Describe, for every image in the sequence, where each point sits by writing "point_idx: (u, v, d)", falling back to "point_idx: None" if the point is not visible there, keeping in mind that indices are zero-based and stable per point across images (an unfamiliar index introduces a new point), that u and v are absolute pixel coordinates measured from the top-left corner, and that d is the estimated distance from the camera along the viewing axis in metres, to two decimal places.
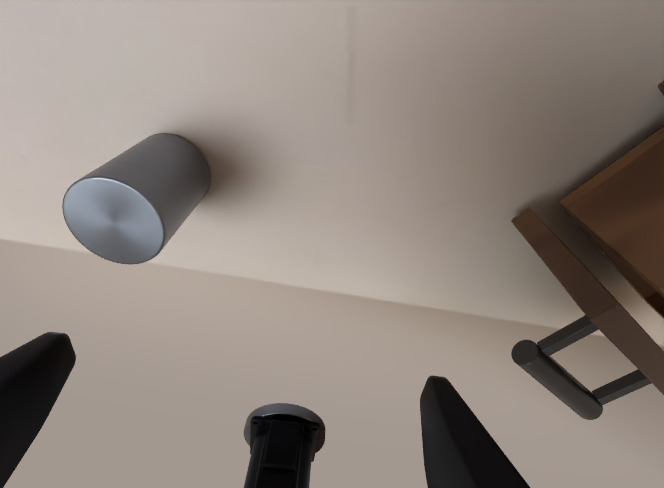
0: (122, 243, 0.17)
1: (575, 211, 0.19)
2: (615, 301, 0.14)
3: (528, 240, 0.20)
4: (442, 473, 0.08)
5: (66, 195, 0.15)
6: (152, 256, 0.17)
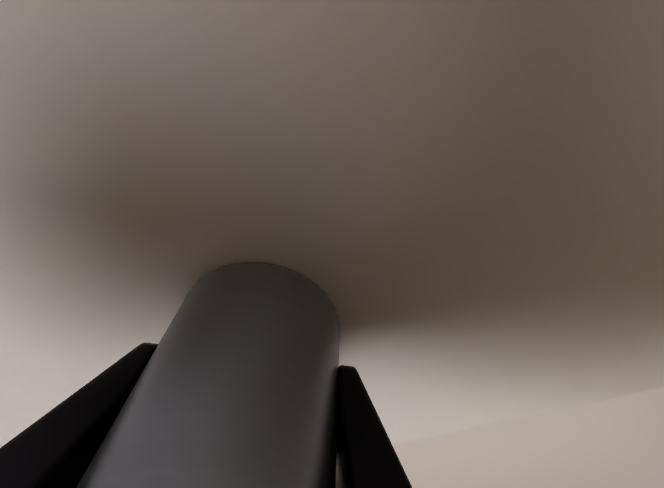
0: None
1: None
2: None
3: None
4: (336, 462, 0.08)
5: None
6: None
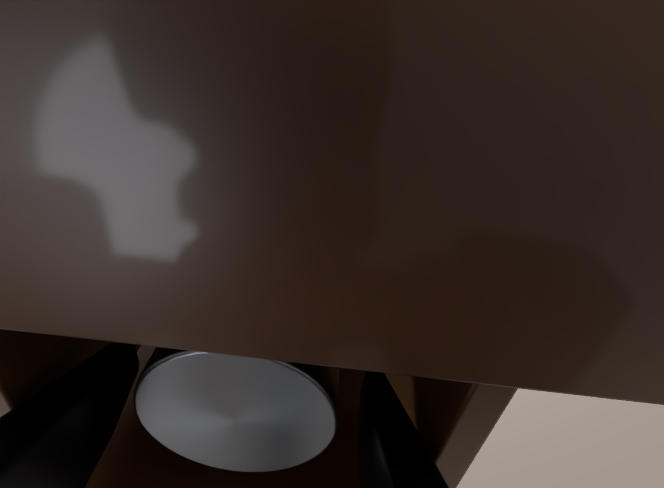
0: (267, 441, 0.08)
1: None
2: None
3: None
4: (368, 465, 0.08)
5: (138, 412, 0.08)
6: (328, 441, 0.08)
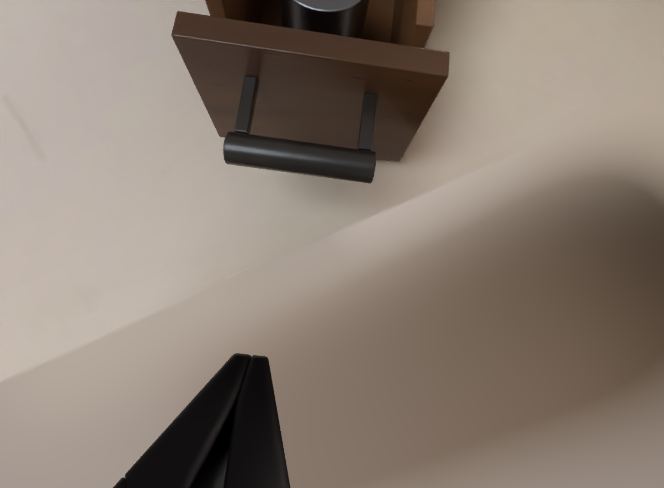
0: None
1: None
2: None
3: (209, 114, 0.21)
4: None
5: None
6: None
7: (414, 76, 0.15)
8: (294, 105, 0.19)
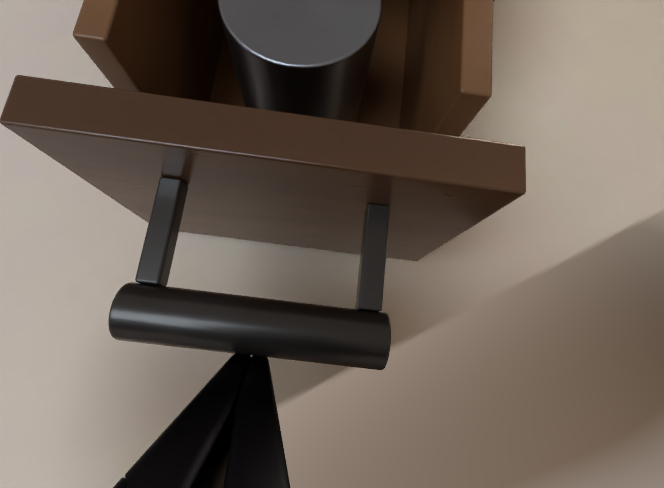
0: (323, 21, 0.10)
1: None
2: None
3: (130, 209, 0.13)
4: None
5: None
6: (376, 20, 0.10)
7: (461, 191, 0.08)
8: (254, 209, 0.11)
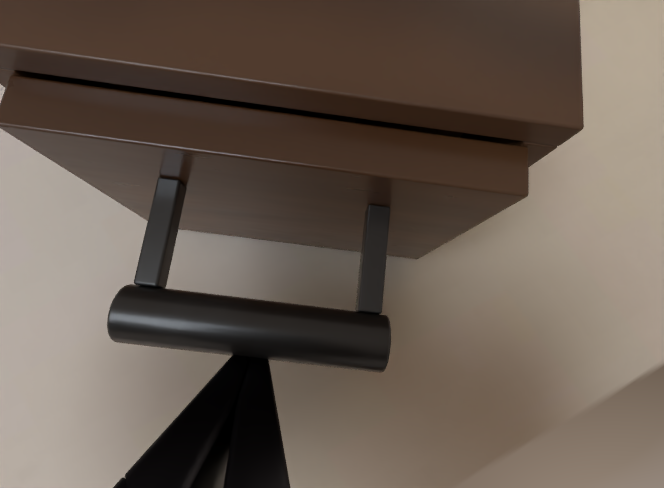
0: None
1: None
2: (13, 80, 0.08)
3: None
4: None
5: None
6: None
7: (463, 193, 0.08)
8: (254, 209, 0.11)
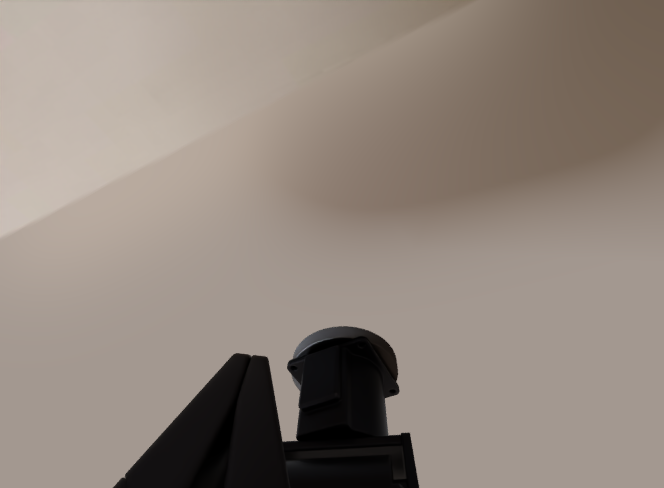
0: None
1: None
2: None
3: None
4: None
5: None
6: None
7: None
8: None
